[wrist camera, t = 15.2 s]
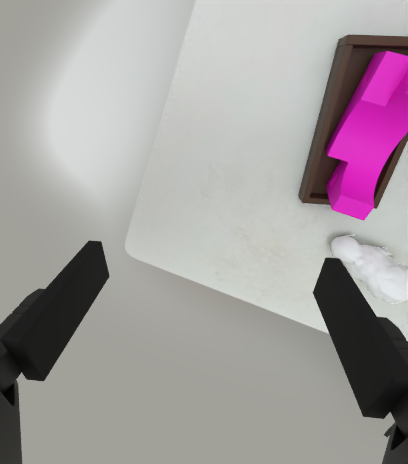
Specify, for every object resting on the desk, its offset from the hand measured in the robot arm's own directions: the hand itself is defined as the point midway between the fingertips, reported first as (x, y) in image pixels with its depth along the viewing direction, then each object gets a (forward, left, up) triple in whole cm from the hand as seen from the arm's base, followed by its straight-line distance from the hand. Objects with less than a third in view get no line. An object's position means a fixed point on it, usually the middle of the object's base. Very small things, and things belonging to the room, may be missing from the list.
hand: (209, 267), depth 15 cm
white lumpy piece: (+13, +23, -24) cm, 36 cm away
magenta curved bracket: (-5, +17, -23) cm, 29 cm away
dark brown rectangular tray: (-5, +17, -24) cm, 30 cm away
